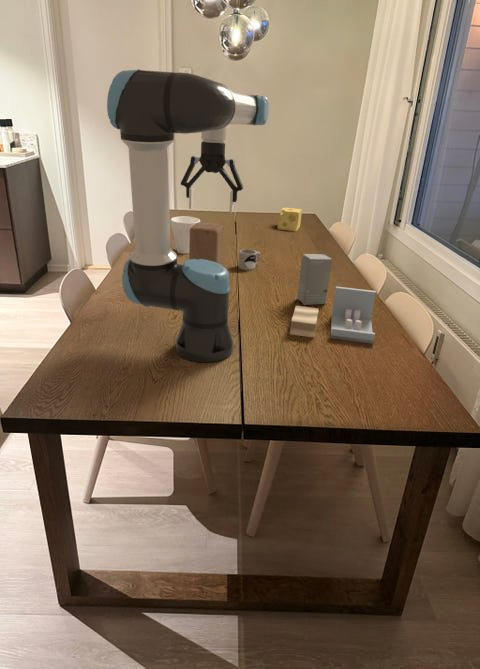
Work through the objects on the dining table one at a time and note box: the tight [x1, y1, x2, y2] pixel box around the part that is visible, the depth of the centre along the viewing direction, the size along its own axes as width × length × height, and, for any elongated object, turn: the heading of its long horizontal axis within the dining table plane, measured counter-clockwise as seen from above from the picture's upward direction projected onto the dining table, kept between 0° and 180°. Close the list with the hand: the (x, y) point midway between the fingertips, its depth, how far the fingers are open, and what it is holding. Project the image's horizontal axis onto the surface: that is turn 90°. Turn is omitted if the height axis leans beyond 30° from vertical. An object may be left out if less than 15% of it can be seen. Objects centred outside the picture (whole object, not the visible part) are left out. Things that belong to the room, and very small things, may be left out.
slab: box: [289, 305, 320, 339], centre depth 145 cm, size 12×7×4 cm, turn 168°
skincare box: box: [296, 253, 333, 306], centre depth 162 cm, size 8×7×16 cm
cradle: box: [330, 285, 377, 345], centre depth 144 cm, size 16×12×10 cm
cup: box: [170, 215, 201, 255], centre depth 206 cm, size 12×12×14 cm
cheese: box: [277, 207, 303, 233], centre depth 254 cm, size 10×11×10 cm
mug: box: [238, 248, 261, 271], centre depth 193 cm, size 10×7×7 cm, turn 129°
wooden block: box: [188, 221, 224, 266], centre depth 173 cm, size 10×10×20 cm
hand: (211, 210), depth 161 cm, fingers open, 13 cm apart
